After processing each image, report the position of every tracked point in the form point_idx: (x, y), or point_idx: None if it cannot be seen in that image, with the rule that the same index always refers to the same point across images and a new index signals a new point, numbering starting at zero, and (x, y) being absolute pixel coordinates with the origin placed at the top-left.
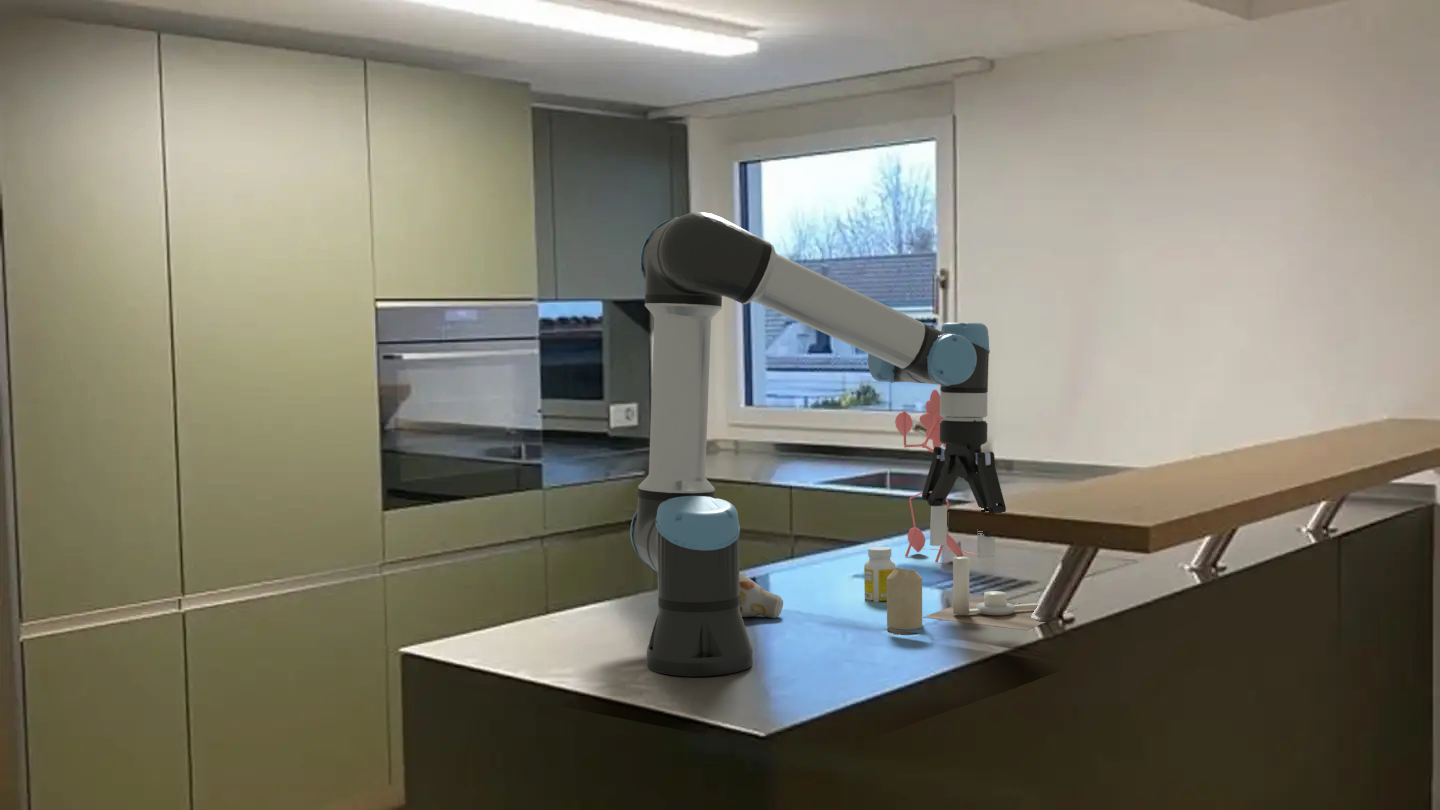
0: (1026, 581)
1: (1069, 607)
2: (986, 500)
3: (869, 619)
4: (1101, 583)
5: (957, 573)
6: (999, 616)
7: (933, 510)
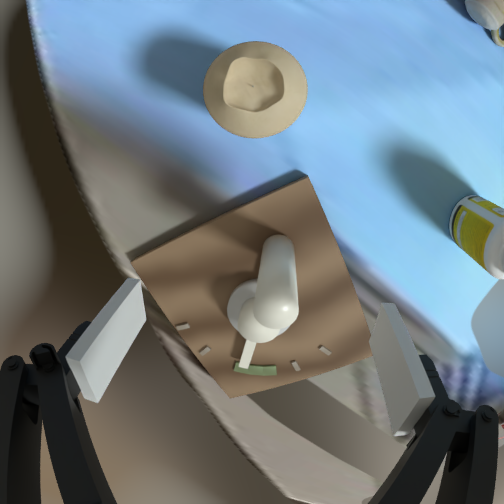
0: (408, 436)
1: (238, 395)
2: (15, 394)
3: (393, 116)
4: (344, 469)
5: (267, 273)
6: None
7: (414, 387)
